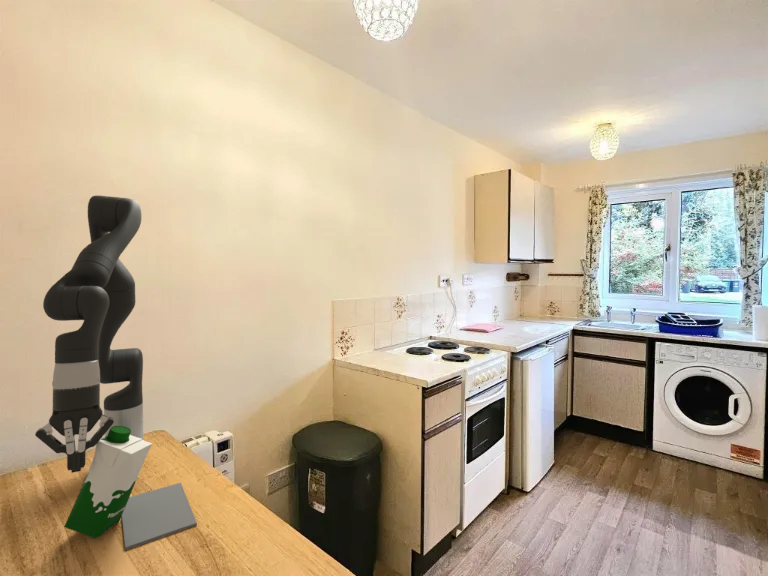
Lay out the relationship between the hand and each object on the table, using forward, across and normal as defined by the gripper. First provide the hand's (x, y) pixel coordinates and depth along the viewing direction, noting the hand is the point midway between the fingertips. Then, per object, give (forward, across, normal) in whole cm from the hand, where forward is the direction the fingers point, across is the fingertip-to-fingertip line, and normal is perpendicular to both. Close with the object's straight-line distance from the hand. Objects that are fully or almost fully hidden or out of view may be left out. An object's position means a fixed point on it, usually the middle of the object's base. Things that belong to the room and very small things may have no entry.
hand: (76, 470), depth 78 cm
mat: (+14, -14, -4) cm, 21 cm away
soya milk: (+13, -2, -4) cm, 14 cm away
